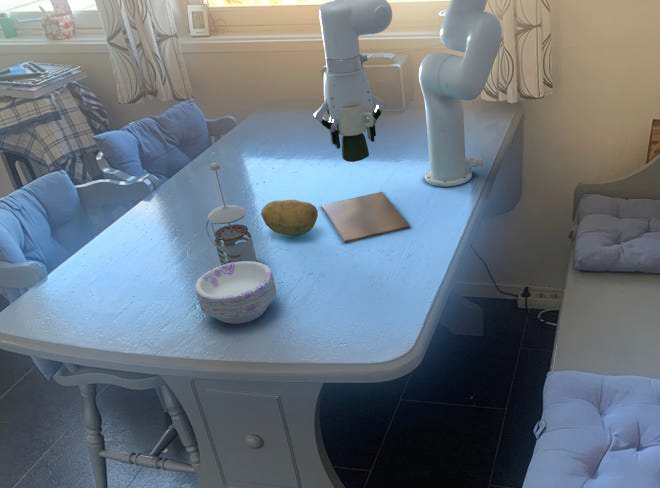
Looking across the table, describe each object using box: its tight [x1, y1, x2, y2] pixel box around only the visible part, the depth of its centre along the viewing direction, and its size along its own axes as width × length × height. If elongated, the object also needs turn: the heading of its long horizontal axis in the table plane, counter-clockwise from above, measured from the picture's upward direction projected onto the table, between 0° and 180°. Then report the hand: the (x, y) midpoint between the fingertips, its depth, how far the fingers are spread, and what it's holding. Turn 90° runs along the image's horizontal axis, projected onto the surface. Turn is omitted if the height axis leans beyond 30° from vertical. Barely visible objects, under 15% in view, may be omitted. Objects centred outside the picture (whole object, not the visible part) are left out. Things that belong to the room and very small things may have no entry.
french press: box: [205, 162, 258, 266], centre depth 161 cm, size 10×12×25 cm
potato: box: [260, 199, 319, 236], centre depth 179 cm, size 10×14×8 cm
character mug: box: [328, 104, 373, 163], centre depth 173 cm, size 11×7×13 cm, turn 70°
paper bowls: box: [194, 261, 277, 325], centre depth 152 cm, size 15×15×8 cm
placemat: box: [321, 191, 411, 244], centre depth 186 cm, size 16×22×1 cm
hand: (354, 142), depth 175 cm, fingers closed on character mug, 7 cm apart
